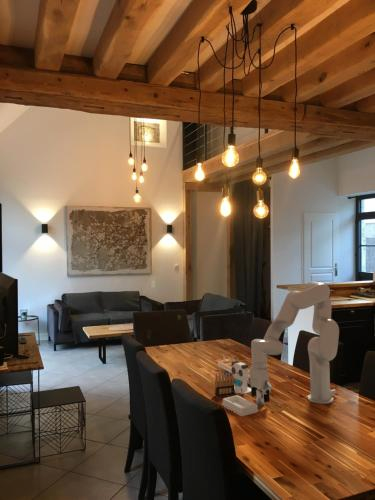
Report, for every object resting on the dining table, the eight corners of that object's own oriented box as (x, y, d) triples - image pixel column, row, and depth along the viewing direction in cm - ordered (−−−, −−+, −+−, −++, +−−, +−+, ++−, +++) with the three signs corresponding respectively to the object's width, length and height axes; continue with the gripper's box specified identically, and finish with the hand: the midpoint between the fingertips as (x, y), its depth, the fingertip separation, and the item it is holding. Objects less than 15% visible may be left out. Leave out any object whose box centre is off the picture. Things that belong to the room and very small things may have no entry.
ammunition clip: (233, 393, 230) (233, 371, 230) (235, 394, 228) (234, 372, 228) (214, 395, 228) (214, 373, 228) (215, 396, 226) (215, 374, 226)
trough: (238, 401, 218) (238, 395, 218) (258, 411, 204) (258, 404, 204) (222, 405, 213) (221, 398, 213) (241, 416, 199) (241, 409, 199)
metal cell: (261, 402, 216) (260, 386, 216) (266, 404, 213) (265, 388, 213) (254, 404, 214) (254, 388, 214) (259, 406, 211) (259, 390, 211)
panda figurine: (226, 388, 238) (225, 361, 238) (243, 385, 244) (242, 358, 244) (238, 395, 228) (237, 366, 228) (255, 391, 233) (254, 363, 233)
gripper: (242, 361, 219) (243, 395, 219) (264, 369, 204) (265, 405, 204) (254, 359, 223) (255, 392, 223) (276, 367, 208) (277, 402, 208)
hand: (260, 398), depth 213 cm, fingers open, 9 cm apart
